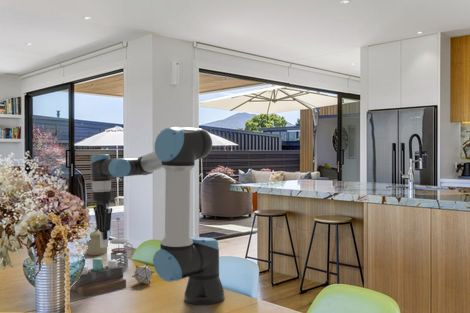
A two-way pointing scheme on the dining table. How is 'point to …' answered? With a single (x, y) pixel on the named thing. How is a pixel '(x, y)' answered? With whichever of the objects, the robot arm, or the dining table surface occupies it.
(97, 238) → the sugar bowl
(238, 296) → the dining table surface
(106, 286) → the socket board
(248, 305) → the dining table surface
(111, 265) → the grey plug
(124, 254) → the french press
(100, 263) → the teal plug
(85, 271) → the grey plug
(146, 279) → the grey spiky ball
